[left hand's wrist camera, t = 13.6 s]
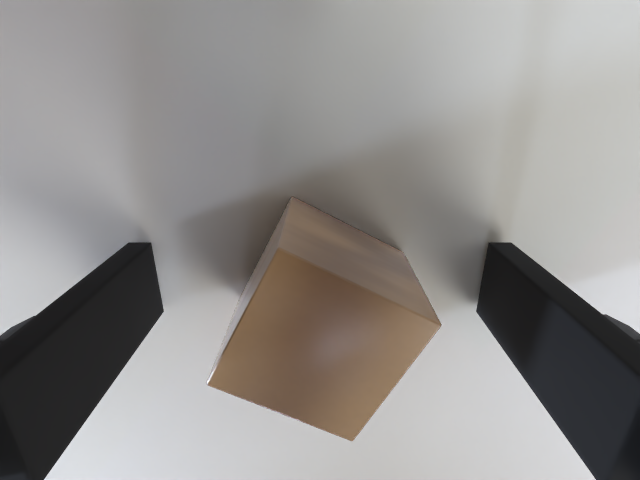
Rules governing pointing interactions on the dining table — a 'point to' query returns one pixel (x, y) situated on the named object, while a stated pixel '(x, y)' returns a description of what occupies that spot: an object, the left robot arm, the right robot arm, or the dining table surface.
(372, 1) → the dining table surface
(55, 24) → the dining table surface
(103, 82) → the dining table surface
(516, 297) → the left robot arm
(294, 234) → the block
